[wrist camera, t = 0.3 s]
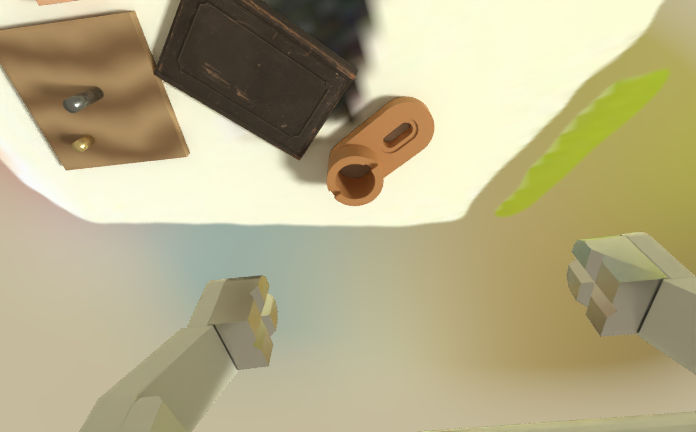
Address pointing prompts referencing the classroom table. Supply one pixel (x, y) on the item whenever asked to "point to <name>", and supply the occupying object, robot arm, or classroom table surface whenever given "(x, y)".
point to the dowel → (83, 143)
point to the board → (85, 72)
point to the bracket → (378, 149)
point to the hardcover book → (254, 69)
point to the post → (83, 99)
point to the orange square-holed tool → (51, 1)
